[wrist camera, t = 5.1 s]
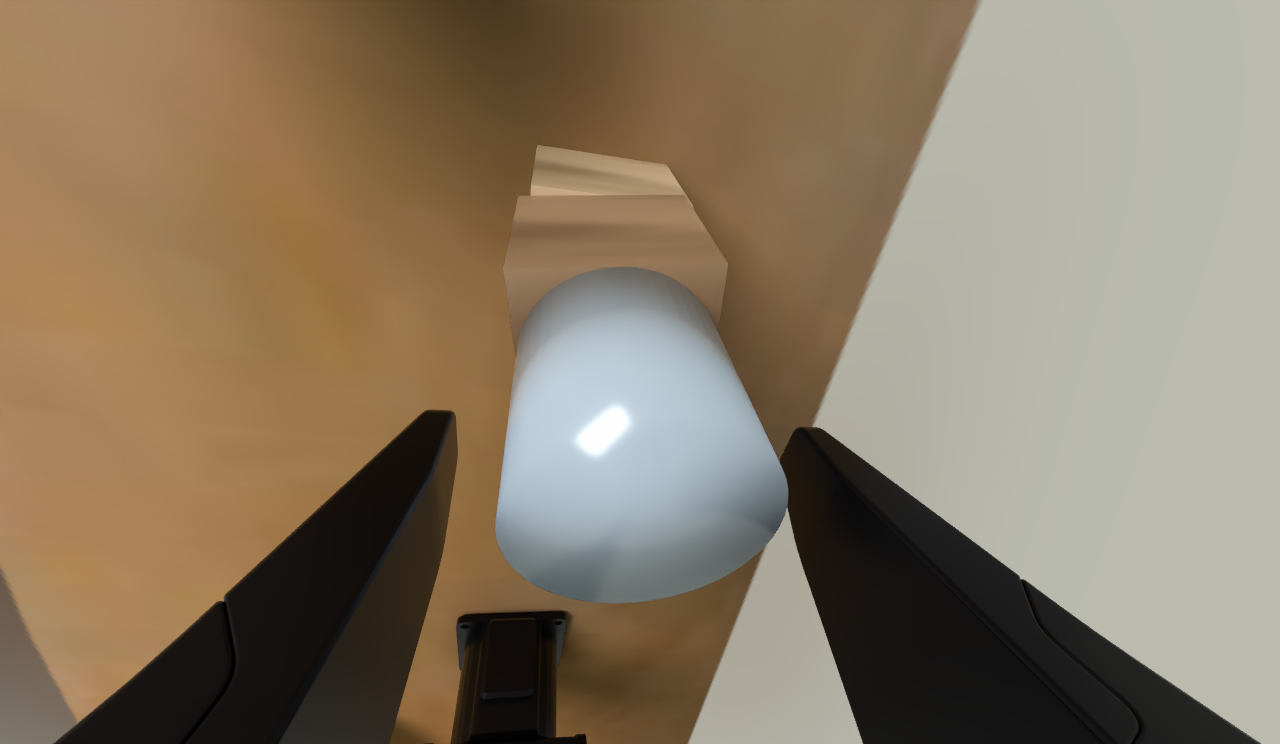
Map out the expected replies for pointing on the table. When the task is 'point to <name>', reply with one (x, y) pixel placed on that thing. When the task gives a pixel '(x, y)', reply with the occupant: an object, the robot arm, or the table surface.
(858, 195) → the table surface
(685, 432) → the pale blue rounded blob
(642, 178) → the tower base
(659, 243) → the tower top
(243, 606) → the robot arm
